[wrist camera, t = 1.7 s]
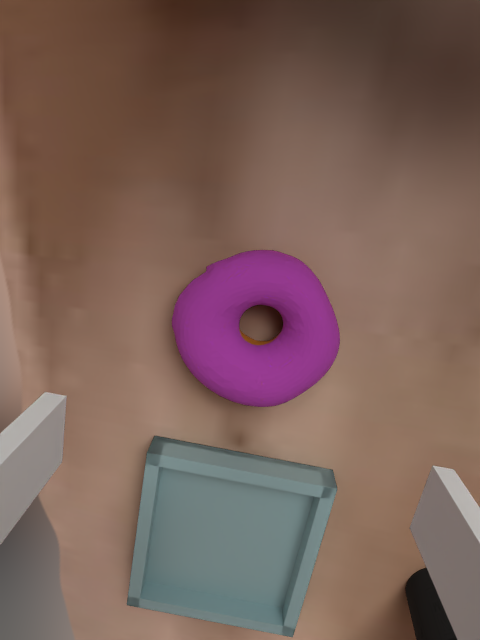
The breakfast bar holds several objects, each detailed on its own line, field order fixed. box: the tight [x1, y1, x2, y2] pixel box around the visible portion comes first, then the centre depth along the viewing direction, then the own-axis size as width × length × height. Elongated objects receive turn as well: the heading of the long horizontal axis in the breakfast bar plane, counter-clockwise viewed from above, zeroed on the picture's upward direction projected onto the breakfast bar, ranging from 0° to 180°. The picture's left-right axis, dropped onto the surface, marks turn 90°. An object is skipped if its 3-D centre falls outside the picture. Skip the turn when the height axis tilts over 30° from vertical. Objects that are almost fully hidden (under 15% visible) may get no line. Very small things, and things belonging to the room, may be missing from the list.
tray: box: [127, 436, 337, 637], centre depth 35 cm, size 15×14×2 cm
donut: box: [172, 250, 340, 407], centre depth 28 cm, size 10×10×5 cm
